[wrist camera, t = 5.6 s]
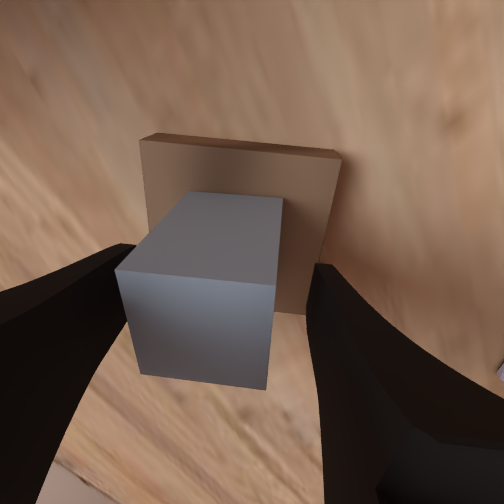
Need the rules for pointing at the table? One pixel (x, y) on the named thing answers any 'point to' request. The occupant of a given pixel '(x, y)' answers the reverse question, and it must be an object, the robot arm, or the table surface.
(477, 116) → the table surface
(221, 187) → the walnut slab
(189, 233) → the blue block
